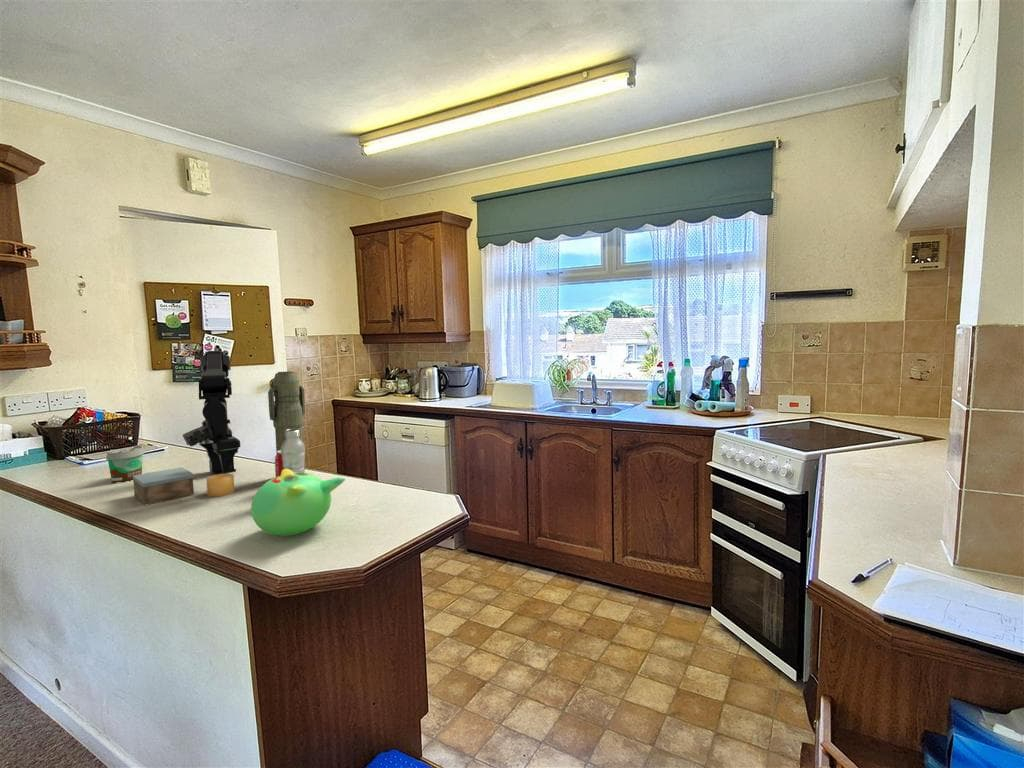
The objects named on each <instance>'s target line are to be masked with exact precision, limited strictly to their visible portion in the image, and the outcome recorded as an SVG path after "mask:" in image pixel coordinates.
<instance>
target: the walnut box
mask: <svg viewBox="0 0 1024 768" xmlns="http://www.w3.org/2000/svg"><path fill="white" fill-rule="evenodd" d="M132 482H133V495H134V498H136V499H137V498H138V499H139V500H138V499H137V500H138V501H140V503H142V504H143V505H144V506H147V505H146V504H148V505H151V503H152V504H155V502H157V503H160V502H161V501H162V502H166V500H167V501H171V499H172V500H175V499H180V498H185V497H190V495H191V496H195V489H194V478H190V479H184V480H179V481H174V482H169V483H163V484H158V485H153V486H148V487H143V486H141V485H140V484H139V483H137V482H136V481H135V480H134V479H133V481H132Z"/></svg>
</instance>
